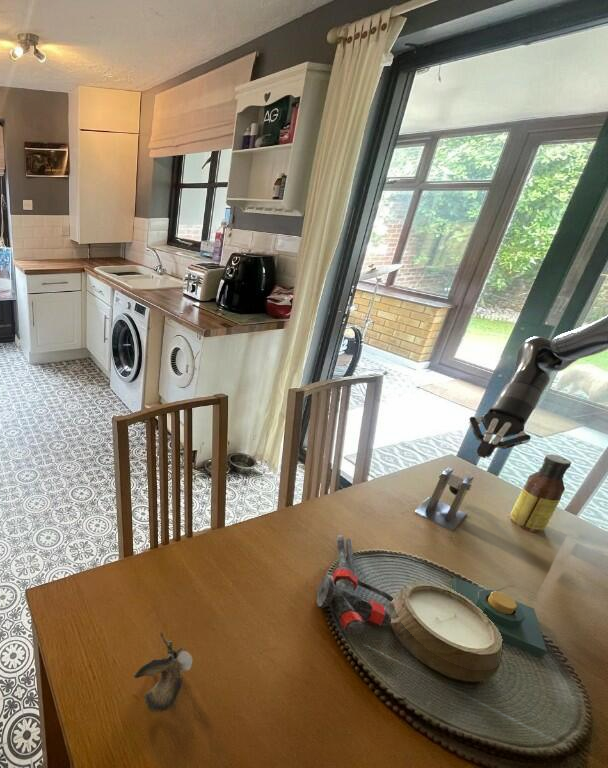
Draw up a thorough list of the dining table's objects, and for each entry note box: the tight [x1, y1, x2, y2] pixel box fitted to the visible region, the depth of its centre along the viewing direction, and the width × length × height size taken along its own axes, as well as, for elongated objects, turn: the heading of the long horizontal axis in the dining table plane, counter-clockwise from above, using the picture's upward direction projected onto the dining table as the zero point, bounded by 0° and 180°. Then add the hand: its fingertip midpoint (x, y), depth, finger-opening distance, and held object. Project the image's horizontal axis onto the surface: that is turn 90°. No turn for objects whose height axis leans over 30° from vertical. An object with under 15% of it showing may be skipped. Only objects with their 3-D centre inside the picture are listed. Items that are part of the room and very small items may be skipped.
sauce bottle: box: [509, 454, 572, 534], centre depth 97 cm, size 7×6×20 cm
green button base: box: [451, 577, 547, 659], centre depth 78 cm, size 12×10×4 cm
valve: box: [316, 534, 395, 635], centre depth 83 cm, size 6×26×15 cm
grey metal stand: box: [413, 467, 475, 532], centre depth 101 cm, size 10×8×13 cm
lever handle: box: [447, 473, 464, 496], centre depth 103 cm, size 14×4×4 cm
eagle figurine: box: [133, 631, 194, 712], centre depth 67 cm, size 8×7×9 cm
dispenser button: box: [488, 590, 517, 615], centre depth 77 cm, size 4×4×2 cm
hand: (481, 456), depth 108 cm, fingers closed
